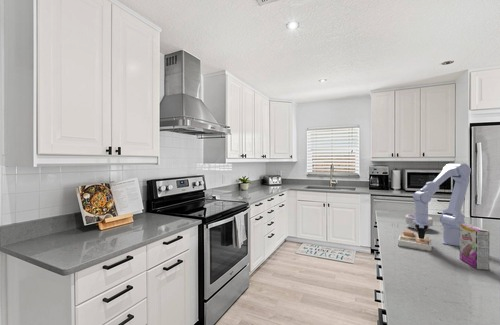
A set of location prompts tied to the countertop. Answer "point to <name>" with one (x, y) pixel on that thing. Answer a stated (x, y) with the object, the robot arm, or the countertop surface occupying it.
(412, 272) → the countertop surface
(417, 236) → the oak board
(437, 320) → the countertop surface
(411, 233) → the terracotta tile
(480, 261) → the candy bar box
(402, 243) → the bin
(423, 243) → the terracotta tile
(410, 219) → the white purple patterned bowl
